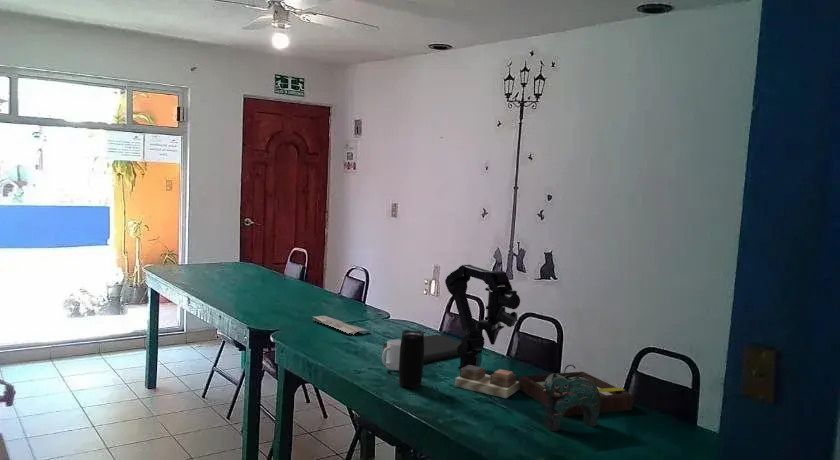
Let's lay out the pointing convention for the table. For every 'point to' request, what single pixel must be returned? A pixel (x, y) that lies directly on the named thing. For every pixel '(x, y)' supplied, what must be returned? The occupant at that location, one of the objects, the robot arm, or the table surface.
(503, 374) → the terracotta key
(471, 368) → the charcoal key
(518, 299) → the robot arm
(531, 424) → the table surface
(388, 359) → the cup
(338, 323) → the beige notched slab
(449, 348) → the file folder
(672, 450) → the table surface
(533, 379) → the brown wooden tray
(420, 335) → the portable speaker
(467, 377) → the key console
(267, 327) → the table surface
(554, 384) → the ceramic cat
